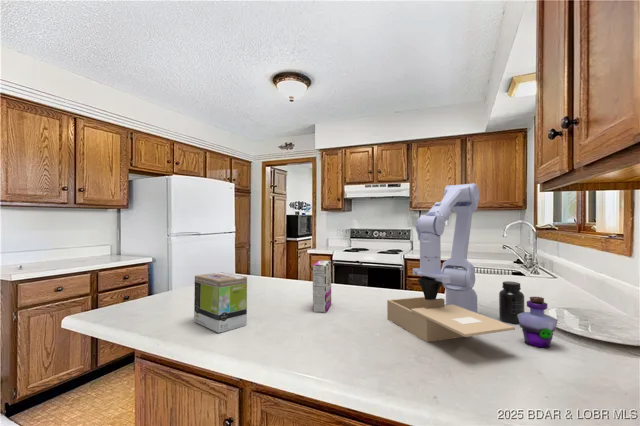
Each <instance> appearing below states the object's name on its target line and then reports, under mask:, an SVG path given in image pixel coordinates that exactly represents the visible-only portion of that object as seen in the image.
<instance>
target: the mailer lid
mask: <svg viewBox="0 0 640 426" xmlns="http://www.w3.org/2000/svg"><path fill="white" fill-rule="evenodd" d="M444 304H445V298H440V297H439V298H436V299H429V300H424V308H415V309H411V311H412V312H414V313H416V314H418V315H420V316H422V317H425V318H427V319H429V320H431V321H433V322H435V323H437V324H439V325H441V326H443V327H445V328H448V329H450V330H452V331H454V332H456V333H458V334H460V335H462V336H464V337H465V338H466V337H467V338H469V337H473V336H475V337H476V336H481V335H489V334H495V333H502V332H509V331H515V330H516V327H515V326H513V325H512V324H511V325H510V324H509V323H506V322H503V321H502V322H501V320H496V319H494V318H491V317H488V316H485V315H483V314H480V313H478V312H477V313H475V312H472V311H469V310H467V309H464V308H461V307H458V306H456V305H446V304H445V305H444ZM464 337H463V338H464Z"/></svg>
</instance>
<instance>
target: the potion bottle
mask: <svg viewBox="0 0 640 426" xmlns="http://www.w3.org/2000/svg"><path fill="white" fill-rule="evenodd" d="M544 300H545V298H544V297H542V296H530V297H529V300H527V301H526V307H527V308H529V311H526V312H525V311H524V312H522V313H520V314H518V315H517V316H518V320H519V323H520V324H519V327H520V329H521V331H522V335H523V339H524V343H525V344H526V345H527V346H530V347H533V348H536V349H547V350H548V349H550V348H551V347H552V345H551V343H552V340H553V337H554V332H556V329H557V325H558V322H559V321H558V319H557V318H555V317H553V316H551V315H549V314H545V310H547V309H548V303H547V302H545V301H544Z"/></svg>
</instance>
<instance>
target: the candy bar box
mask: <svg viewBox="0 0 640 426" xmlns="http://www.w3.org/2000/svg"><path fill="white" fill-rule="evenodd" d="M311 266H312V313H322V314H325V313H327V311H328V310H329V308H330V307H331V305H332V261H331V260H318V261H317V262H315V263H314V264H312V265H311Z"/></svg>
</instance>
